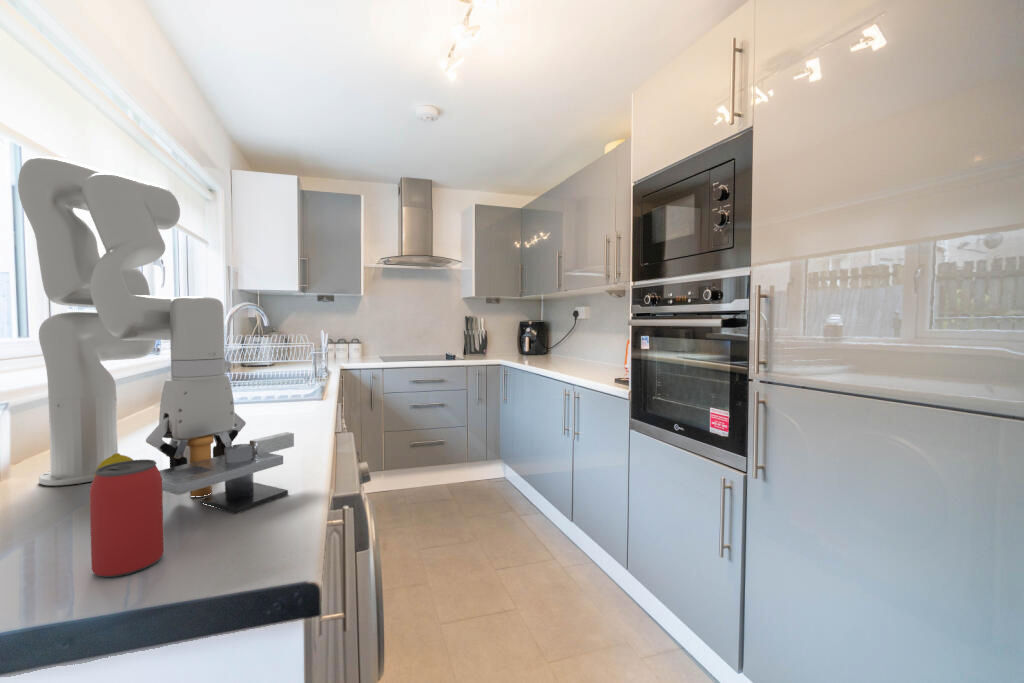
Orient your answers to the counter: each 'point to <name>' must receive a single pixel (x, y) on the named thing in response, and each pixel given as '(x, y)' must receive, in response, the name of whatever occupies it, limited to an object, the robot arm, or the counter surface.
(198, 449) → the orange flanged peg
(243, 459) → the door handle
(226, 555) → the counter surface
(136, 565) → the beer can
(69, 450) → the robot arm
